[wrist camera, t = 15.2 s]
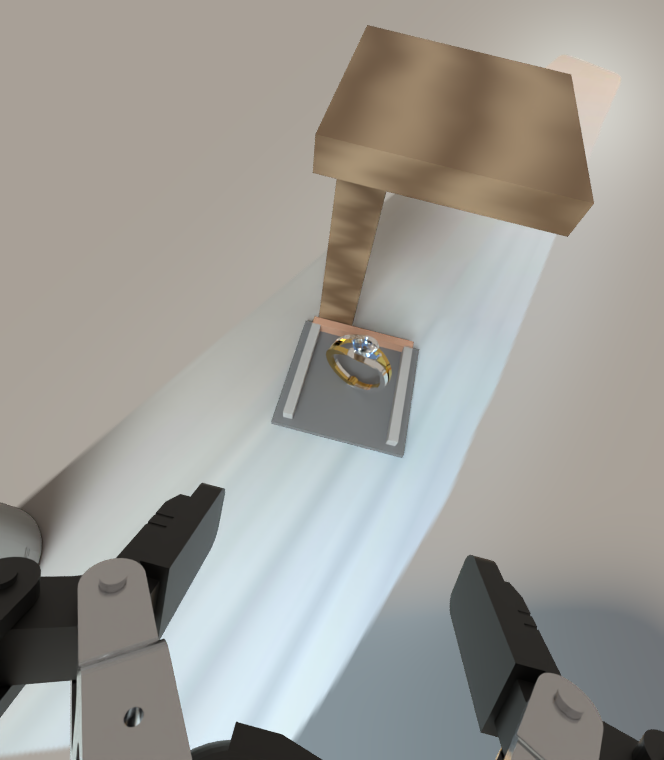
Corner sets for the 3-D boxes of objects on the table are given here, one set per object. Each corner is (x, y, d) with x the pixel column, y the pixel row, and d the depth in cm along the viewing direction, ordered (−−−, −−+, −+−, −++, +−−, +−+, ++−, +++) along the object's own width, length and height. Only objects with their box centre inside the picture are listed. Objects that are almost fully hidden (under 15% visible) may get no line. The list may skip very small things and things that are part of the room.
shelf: (297, 388, 42) (315, 134, 19) (327, 295, 49) (367, 25, 26) (421, 420, 42) (594, 203, 19) (433, 322, 49) (571, 74, 26)
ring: (385, 392, 43) (405, 353, 36) (369, 412, 41) (387, 376, 34) (334, 357, 44) (344, 313, 37) (318, 376, 43) (324, 334, 36)
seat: (271, 423, 40) (271, 416, 38) (305, 323, 47) (306, 314, 45) (401, 457, 40) (406, 452, 38) (417, 352, 46) (422, 343, 45)
